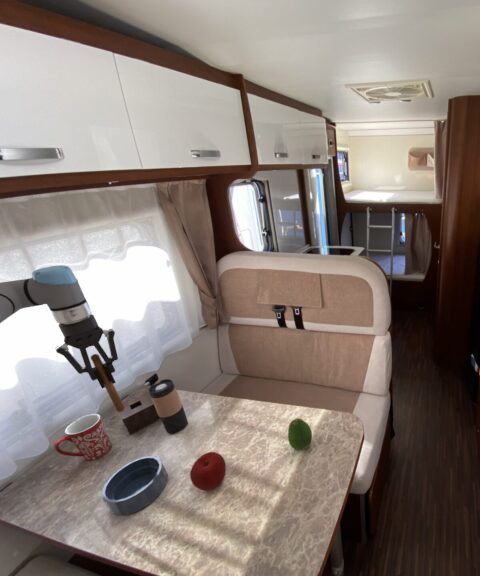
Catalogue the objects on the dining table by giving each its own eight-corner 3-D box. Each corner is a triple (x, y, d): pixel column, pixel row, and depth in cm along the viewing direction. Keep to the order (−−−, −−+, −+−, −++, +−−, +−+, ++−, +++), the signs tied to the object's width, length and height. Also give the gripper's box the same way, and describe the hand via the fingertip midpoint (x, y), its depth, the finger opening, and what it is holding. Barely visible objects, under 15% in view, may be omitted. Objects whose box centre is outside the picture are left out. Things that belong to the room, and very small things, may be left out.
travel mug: (183, 432, 114) (166, 391, 106) (161, 436, 113) (143, 394, 105) (192, 417, 121) (176, 377, 113) (171, 420, 120) (154, 380, 112)
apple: (194, 503, 90) (184, 481, 86) (197, 476, 98) (188, 454, 94) (229, 489, 93) (221, 467, 89) (229, 463, 101) (222, 442, 97)
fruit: (316, 450, 105) (311, 424, 100) (293, 460, 102) (287, 434, 97) (310, 433, 111) (306, 408, 107) (289, 442, 108) (283, 417, 104)
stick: (118, 414, 99) (89, 356, 92) (117, 411, 100) (88, 354, 93) (126, 410, 100) (98, 353, 93) (124, 408, 101) (97, 351, 94)
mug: (112, 436, 114) (97, 409, 109) (117, 449, 109) (102, 421, 103) (66, 460, 105) (48, 432, 100) (69, 476, 100) (50, 447, 95)
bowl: (115, 528, 84) (106, 514, 82) (106, 494, 93) (97, 480, 91) (174, 488, 94) (168, 474, 92) (161, 461, 103) (154, 447, 101)
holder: (130, 435, 114) (122, 419, 111) (124, 421, 121) (116, 406, 118) (161, 418, 121) (155, 403, 118) (154, 406, 128) (148, 391, 125)
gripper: (39, 333, 79) (78, 402, 88) (111, 312, 90) (139, 376, 99) (37, 325, 84) (74, 391, 93) (106, 306, 94) (133, 367, 103)
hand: (108, 383), depth 96 cm, fingers closed on stick, 2 cm apart
